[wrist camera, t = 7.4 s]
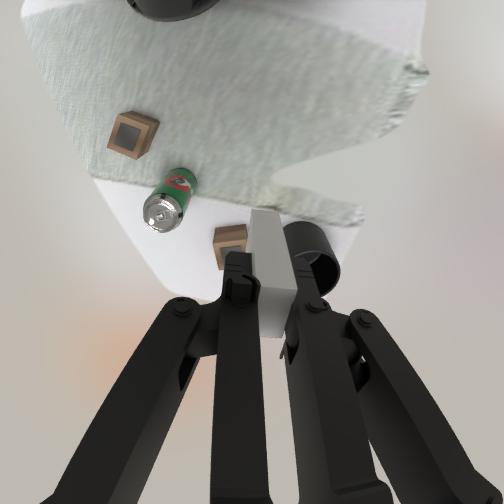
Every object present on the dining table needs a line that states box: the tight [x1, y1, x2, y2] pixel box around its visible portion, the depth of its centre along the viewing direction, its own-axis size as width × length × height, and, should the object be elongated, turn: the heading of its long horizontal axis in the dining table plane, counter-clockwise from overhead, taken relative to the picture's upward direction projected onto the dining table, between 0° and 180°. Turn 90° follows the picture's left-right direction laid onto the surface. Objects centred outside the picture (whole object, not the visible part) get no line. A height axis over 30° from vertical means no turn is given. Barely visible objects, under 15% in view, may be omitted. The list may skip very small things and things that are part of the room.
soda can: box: [143, 169, 196, 233], centre depth 36 cm, size 5×5×12 cm
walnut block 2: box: [213, 224, 248, 270], centre depth 44 cm, size 5×5×5 cm
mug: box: [283, 222, 340, 297], centre depth 44 cm, size 9×12×9 cm
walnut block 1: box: [107, 111, 160, 160], centre depth 34 cm, size 5×5×5 cm
